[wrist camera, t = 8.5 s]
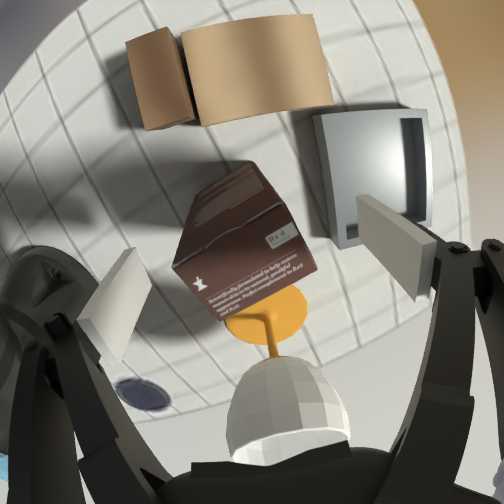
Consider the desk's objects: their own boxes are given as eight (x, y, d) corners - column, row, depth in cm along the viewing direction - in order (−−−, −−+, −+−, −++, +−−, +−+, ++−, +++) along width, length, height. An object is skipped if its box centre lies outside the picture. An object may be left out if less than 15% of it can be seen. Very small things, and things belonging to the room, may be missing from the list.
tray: (330, 238, 26) (339, 250, 23) (311, 115, 20) (321, 114, 18) (418, 217, 25) (431, 226, 23) (411, 108, 20) (427, 109, 18)
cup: (212, 331, 30) (208, 467, 15) (245, 266, 26) (262, 420, 12) (282, 350, 32) (308, 471, 18) (322, 294, 28) (381, 423, 14)
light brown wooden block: (205, 126, 21) (201, 126, 18) (186, 43, 17) (180, 32, 14) (321, 106, 20) (334, 104, 18) (302, 25, 17) (312, 14, 14)
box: (222, 235, 25) (217, 326, 14) (193, 195, 23) (162, 262, 12) (280, 202, 24) (322, 272, 13) (254, 158, 22) (279, 193, 11)
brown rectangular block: (163, 129, 20) (145, 131, 16) (145, 56, 17) (125, 42, 12) (197, 118, 20) (188, 116, 15) (179, 45, 17) (167, 26, 12)
